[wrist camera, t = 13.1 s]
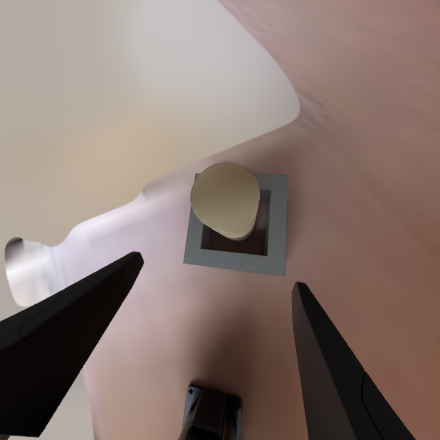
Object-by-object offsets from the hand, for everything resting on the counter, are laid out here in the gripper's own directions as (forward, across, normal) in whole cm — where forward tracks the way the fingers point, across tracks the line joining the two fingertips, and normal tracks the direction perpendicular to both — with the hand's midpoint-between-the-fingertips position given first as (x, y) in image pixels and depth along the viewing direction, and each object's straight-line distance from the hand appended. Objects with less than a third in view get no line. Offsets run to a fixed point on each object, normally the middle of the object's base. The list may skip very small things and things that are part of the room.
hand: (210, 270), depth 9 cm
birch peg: (+12, 0, +6) cm, 14 cm away
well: (+12, 0, +6) cm, 14 cm away
